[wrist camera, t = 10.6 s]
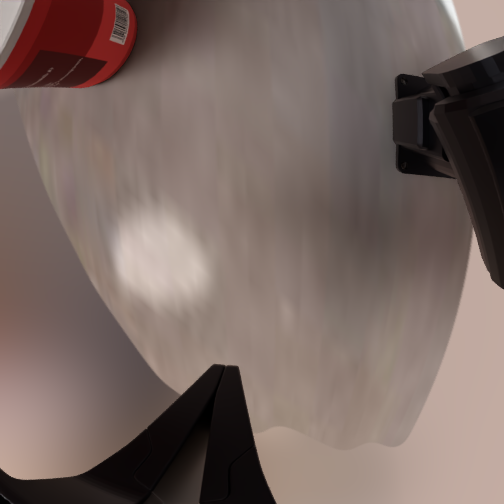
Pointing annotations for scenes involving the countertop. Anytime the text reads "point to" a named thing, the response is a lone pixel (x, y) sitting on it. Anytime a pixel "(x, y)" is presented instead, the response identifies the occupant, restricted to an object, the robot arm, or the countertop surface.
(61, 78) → the canned food
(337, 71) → the countertop surface
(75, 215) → the countertop surface
